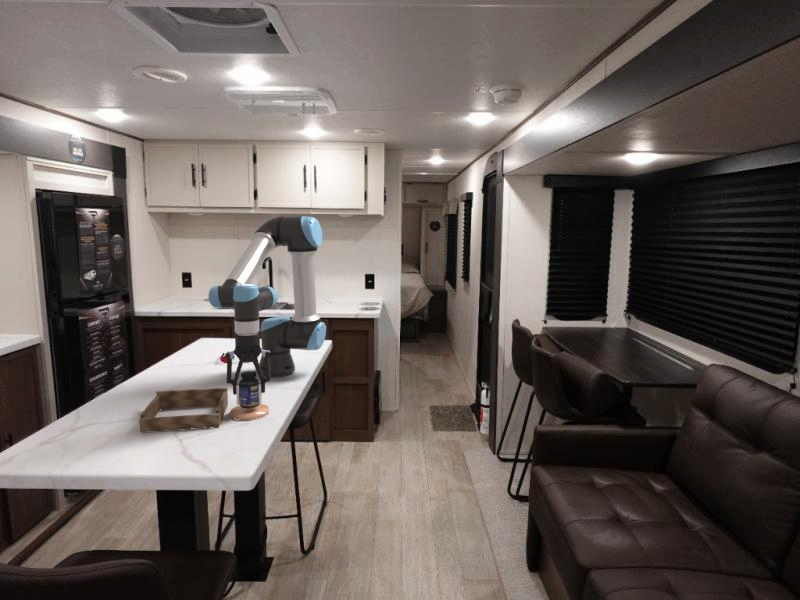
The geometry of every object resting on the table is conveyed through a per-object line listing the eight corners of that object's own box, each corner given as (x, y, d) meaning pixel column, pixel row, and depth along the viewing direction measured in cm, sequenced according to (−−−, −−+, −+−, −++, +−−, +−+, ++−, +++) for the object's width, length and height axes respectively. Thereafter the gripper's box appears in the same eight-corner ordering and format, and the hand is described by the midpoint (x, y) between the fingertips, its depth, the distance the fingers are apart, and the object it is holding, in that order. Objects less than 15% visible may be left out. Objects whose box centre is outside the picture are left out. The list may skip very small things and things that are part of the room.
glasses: (219, 365, 216) (219, 354, 215) (223, 356, 232) (223, 345, 231) (252, 363, 219) (252, 352, 219) (254, 354, 235) (253, 344, 234)
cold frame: (227, 404, 166) (227, 387, 165) (219, 427, 147) (218, 408, 146) (158, 408, 162) (157, 391, 161) (139, 432, 142) (138, 412, 141)
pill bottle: (253, 409, 154) (252, 376, 153) (236, 408, 155) (234, 374, 154) (262, 403, 160) (261, 370, 159) (245, 401, 161) (244, 369, 160)
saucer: (269, 405, 165) (269, 402, 165) (268, 419, 154) (267, 415, 154) (232, 408, 163) (232, 404, 163) (228, 421, 151) (227, 418, 151)
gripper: (278, 329, 160) (280, 397, 163) (217, 331, 156) (220, 400, 159) (277, 334, 153) (279, 405, 156) (213, 336, 149) (216, 409, 152)
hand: (249, 402), depth 158 cm, fingers closed on pill bottle, 6 cm apart
